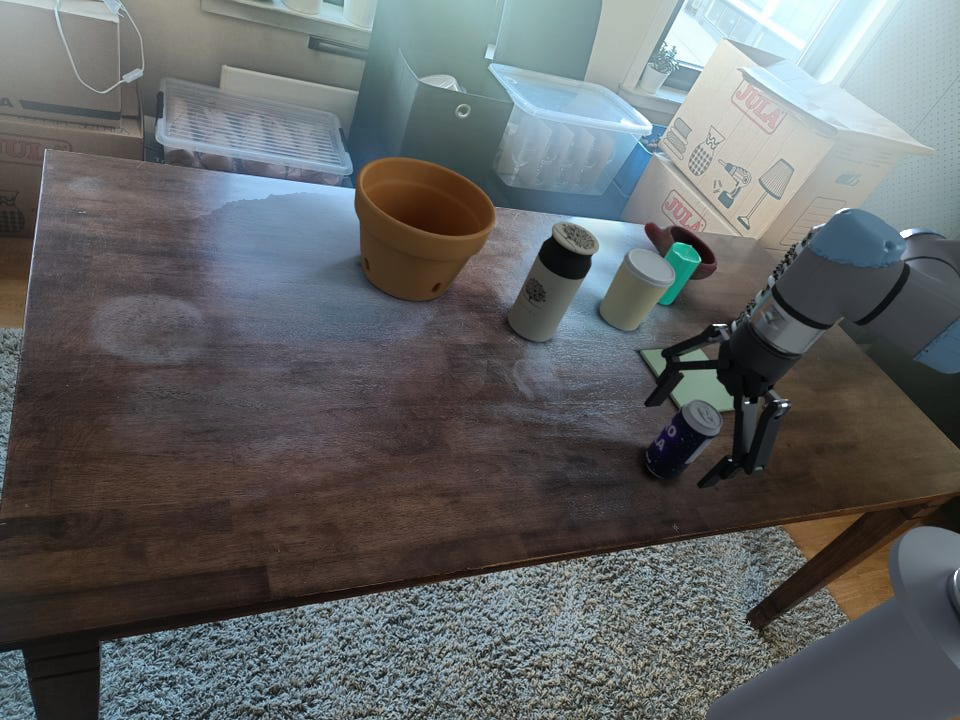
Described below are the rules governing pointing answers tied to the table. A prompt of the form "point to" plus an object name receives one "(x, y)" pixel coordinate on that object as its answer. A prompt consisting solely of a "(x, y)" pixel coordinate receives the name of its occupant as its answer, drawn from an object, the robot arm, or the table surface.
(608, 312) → the cream lidded canister
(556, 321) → the travel mug
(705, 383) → the mat
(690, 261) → the candle
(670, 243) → the bowl
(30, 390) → the table surface
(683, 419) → the beverage can
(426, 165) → the flower pot
